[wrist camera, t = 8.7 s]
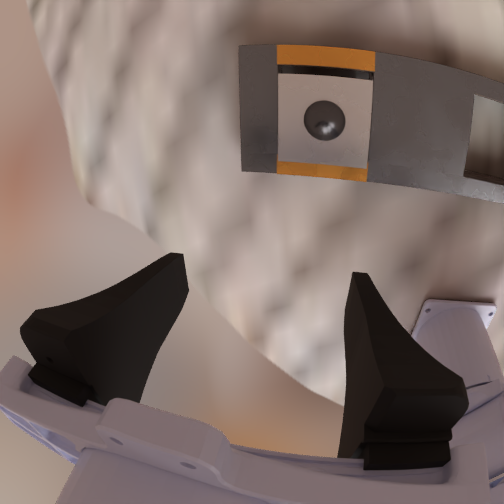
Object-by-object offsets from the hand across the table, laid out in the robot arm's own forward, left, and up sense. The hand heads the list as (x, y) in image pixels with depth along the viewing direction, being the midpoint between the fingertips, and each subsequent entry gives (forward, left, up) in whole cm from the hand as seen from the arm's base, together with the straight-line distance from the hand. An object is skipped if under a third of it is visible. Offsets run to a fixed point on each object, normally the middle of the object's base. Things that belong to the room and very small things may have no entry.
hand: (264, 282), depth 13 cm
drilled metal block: (+6, -2, -10) cm, 12 cm away
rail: (+6, -8, -10) cm, 14 cm away
